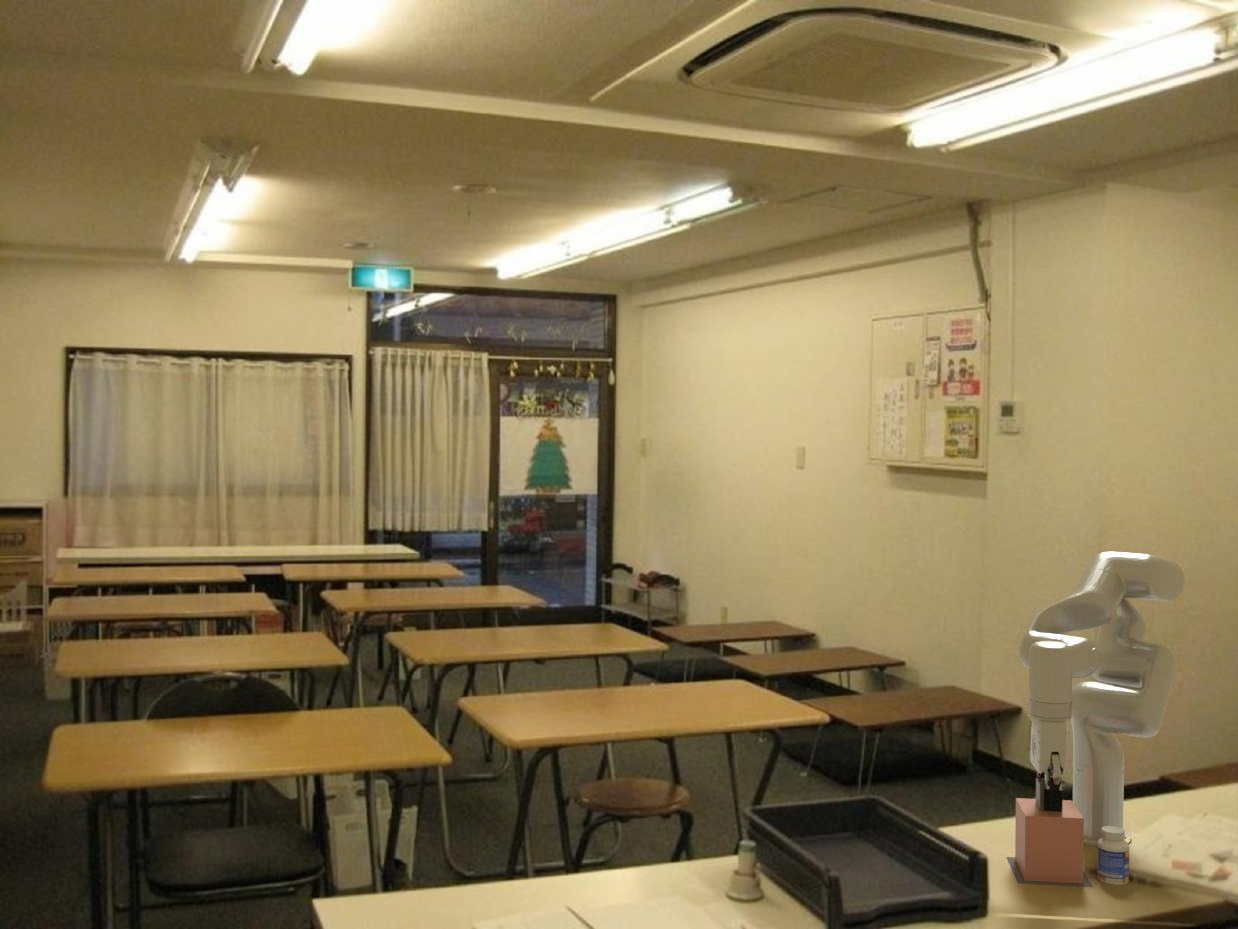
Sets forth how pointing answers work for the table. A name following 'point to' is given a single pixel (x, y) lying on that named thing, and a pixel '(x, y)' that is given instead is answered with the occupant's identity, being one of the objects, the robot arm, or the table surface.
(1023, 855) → the cover
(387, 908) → the table surface
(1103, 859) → the pill bottle
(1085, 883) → the mat
